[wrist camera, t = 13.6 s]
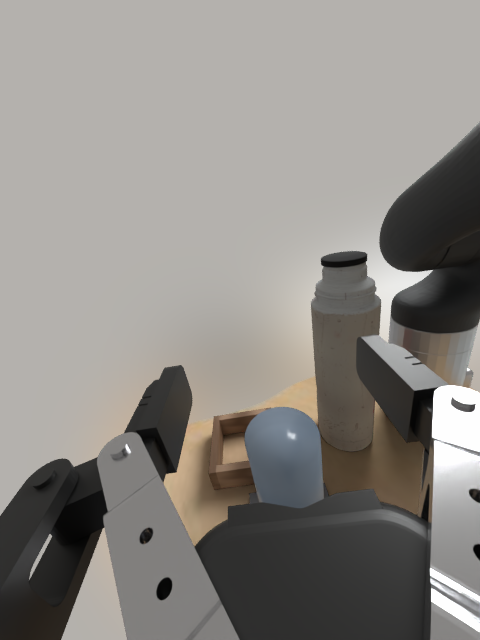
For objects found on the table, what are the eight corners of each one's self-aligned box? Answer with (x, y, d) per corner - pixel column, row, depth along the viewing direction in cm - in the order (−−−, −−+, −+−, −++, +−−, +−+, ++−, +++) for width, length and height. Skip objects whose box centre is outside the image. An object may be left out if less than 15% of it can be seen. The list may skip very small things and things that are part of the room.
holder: (273, 422, 43) (271, 407, 41) (284, 479, 33) (282, 462, 32) (218, 431, 43) (213, 416, 42) (214, 489, 34) (208, 473, 33)
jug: (309, 477, 33) (300, 383, 26) (336, 570, 24) (332, 464, 18) (262, 483, 33) (242, 392, 26) (272, 578, 24) (246, 477, 18)
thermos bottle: (369, 413, 41) (378, 243, 30) (376, 456, 34) (391, 258, 23) (319, 407, 44) (310, 251, 32) (317, 446, 37) (304, 266, 26)
